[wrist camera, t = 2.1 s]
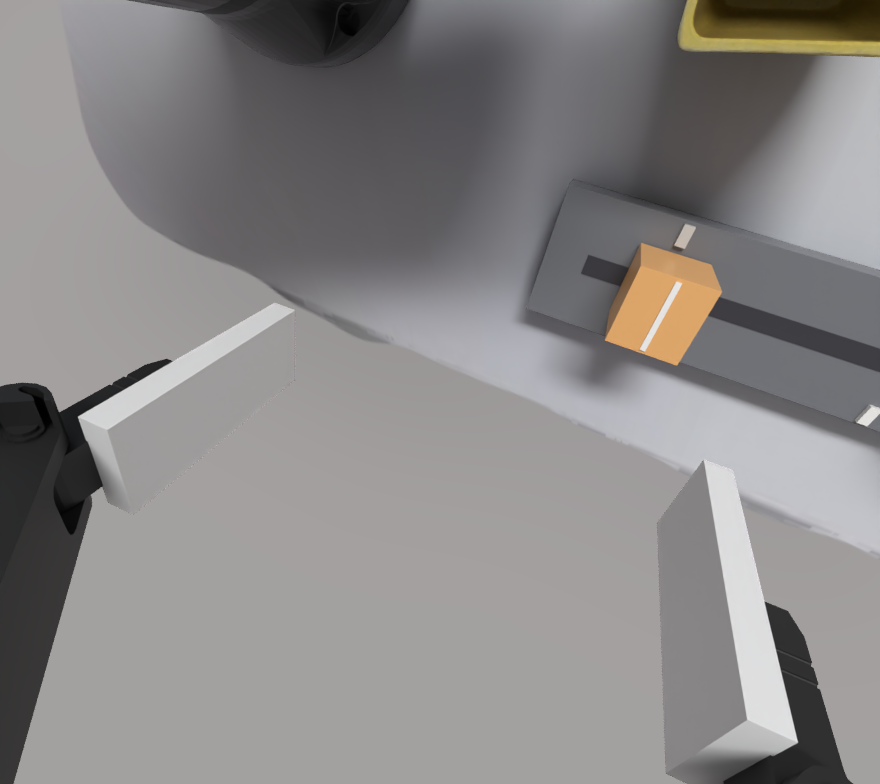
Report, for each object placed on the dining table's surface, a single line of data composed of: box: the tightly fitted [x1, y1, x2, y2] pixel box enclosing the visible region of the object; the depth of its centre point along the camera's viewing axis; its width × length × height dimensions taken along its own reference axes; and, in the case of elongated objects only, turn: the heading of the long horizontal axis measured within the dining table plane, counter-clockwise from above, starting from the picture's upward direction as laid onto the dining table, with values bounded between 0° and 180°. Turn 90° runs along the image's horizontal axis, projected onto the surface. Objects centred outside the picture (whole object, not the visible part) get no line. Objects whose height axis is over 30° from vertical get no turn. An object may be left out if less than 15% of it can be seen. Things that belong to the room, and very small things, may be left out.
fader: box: [605, 243, 722, 366], centre depth 26 cm, size 4×4×5 cm
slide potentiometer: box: [526, 179, 880, 432], centre depth 27 cm, size 26×8×4 cm, turn 78°
